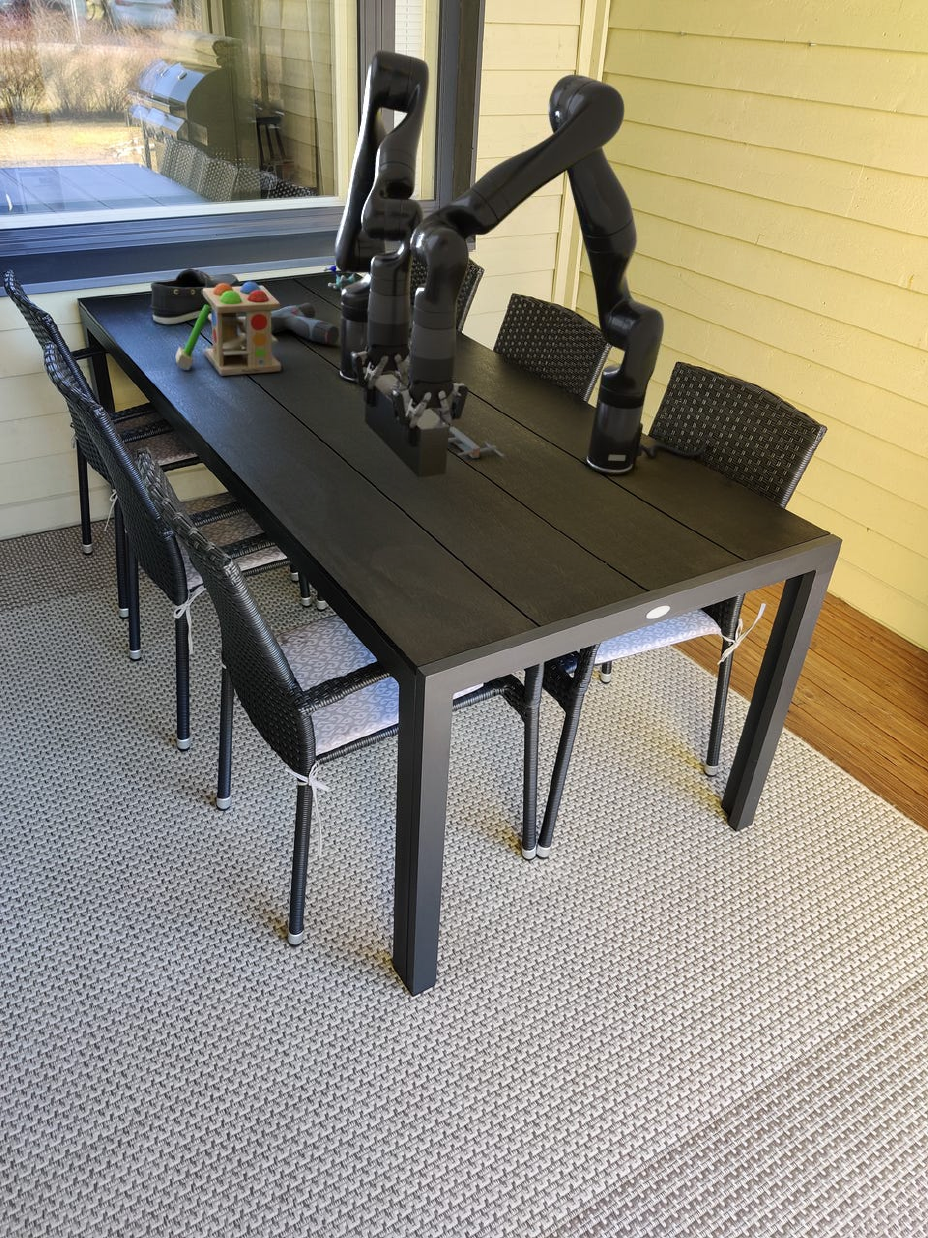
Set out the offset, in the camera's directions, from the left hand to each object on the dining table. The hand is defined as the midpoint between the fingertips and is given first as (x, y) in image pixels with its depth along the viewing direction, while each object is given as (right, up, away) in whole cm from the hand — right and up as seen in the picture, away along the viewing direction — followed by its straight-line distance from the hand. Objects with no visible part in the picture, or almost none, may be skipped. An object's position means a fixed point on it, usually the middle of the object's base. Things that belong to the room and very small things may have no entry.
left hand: (385, 403), depth 186 cm
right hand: (+8, -10, -13) cm, 19 cm away
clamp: (+15, -6, +16) cm, 23 cm away
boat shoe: (-56, +42, +76) cm, 104 cm away
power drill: (-24, +33, +67) cm, 79 cm away
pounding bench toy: (-41, +19, +44) cm, 63 cm away
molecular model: (-21, +55, +100) cm, 116 cm away
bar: (+4, -9, -4) cm, 10 cm away
